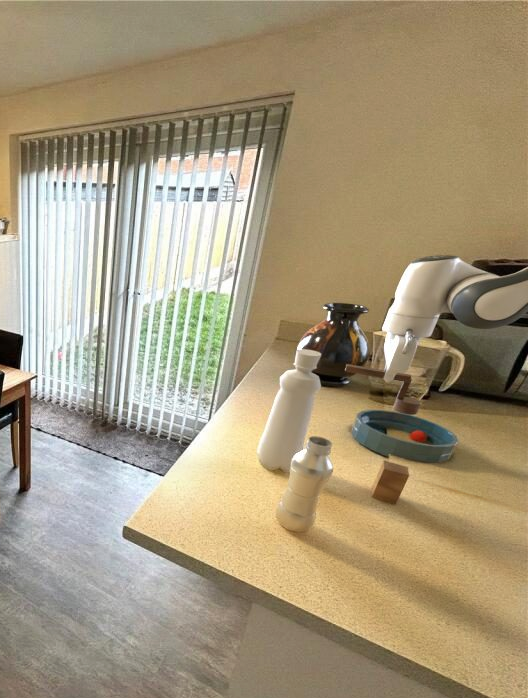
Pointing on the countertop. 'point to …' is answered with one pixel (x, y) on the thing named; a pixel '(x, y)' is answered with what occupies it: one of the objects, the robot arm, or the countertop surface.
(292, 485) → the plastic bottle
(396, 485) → the wooden toy brick
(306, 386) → the bottle
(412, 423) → the blue ring
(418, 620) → the countertop surface
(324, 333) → the black vase
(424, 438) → the tomato
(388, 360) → the robot arm
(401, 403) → the bent rod on disc
